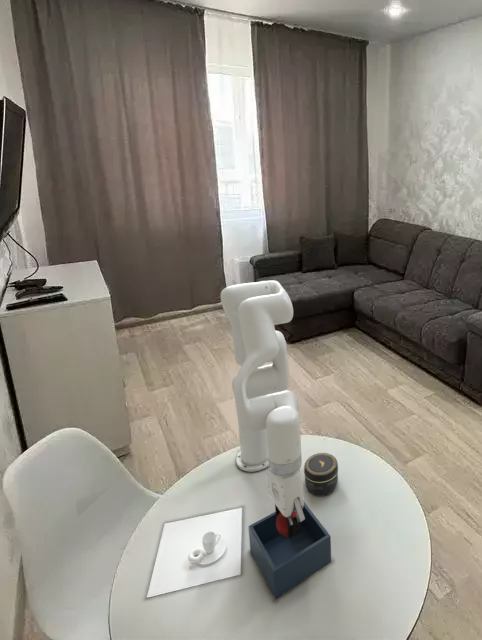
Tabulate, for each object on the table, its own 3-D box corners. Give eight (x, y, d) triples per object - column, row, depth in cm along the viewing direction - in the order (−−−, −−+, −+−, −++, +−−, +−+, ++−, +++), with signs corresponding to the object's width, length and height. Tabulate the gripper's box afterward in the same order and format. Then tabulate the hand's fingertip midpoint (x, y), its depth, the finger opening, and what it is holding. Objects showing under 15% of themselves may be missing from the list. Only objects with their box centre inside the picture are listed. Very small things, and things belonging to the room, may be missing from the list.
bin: (250, 551, 103) (248, 526, 101) (302, 521, 111) (301, 497, 110) (275, 599, 91) (273, 571, 90) (331, 561, 100) (330, 535, 98)
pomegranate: (295, 547, 97) (294, 518, 95) (273, 542, 98) (271, 514, 96) (304, 526, 102) (303, 499, 100) (282, 522, 103) (281, 495, 102)
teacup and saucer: (187, 570, 98) (185, 556, 97) (191, 541, 105) (190, 528, 104) (226, 561, 100) (224, 547, 99) (227, 533, 107) (226, 520, 107)
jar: (323, 468, 130) (323, 447, 129) (345, 485, 124) (344, 463, 122) (298, 485, 123) (297, 463, 122) (319, 504, 117) (318, 481, 115)
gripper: (255, 446, 100) (259, 509, 104) (287, 491, 86) (290, 560, 90) (283, 434, 104) (286, 494, 108) (318, 474, 91) (320, 541, 95)
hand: (288, 524), depth 99 cm, fingers closed on pomegranate, 5 cm apart
